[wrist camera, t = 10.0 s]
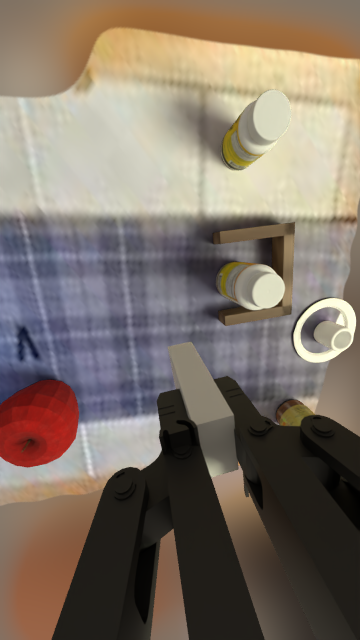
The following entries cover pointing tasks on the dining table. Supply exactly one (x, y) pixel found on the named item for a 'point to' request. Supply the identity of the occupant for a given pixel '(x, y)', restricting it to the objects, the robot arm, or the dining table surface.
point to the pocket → (280, 265)
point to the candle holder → (328, 331)
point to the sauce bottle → (292, 413)
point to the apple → (38, 423)
